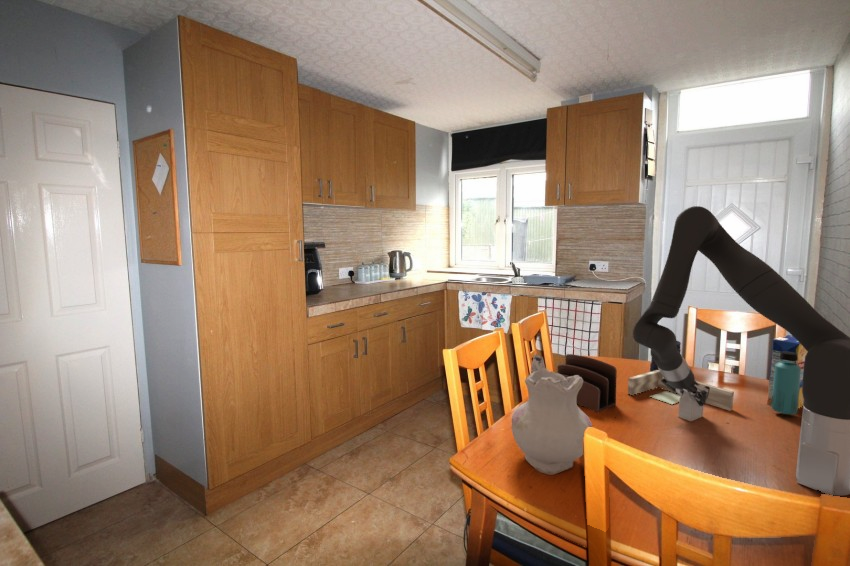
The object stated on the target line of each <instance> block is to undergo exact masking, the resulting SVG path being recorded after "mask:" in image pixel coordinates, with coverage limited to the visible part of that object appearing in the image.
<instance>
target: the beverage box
mask: <svg viewBox="0 0 850 566" xmlns="http://www.w3.org/2000/svg"><path fill="white" fill-rule="evenodd" d="M782 351H788V352H793V353H796V354H797V361H788V360H783V359H781V358H780V354H781V352H782ZM806 354H807V350H806V349H805V348H804V347H803V346H802V345H801V344H800V343H799V342H798V341H797V340H796V338H794V337H793V336H792V335H791V334H787V335H784V336H779V337H776V338H773V339H772V349H771V358H770V370H769V380H768V390H767V391H768V392H767V403H766V405H769V406H772V405H771V404H772V402H771V401H772V400H771V399H772V394H773V391H772V390H773V382H774V372H775V364H776V363H778V362H781V361H786V362H792V363H795V364H797V365H798V366H799V367H800V368H801V374H800V388H799V391H800V392H799V393H800V394H799V395H800V396H799V400H798V404H799V406H798V408H799V409H801V408H803V407H802V406H803V402H804V398H803V394H802V385H803V371H804V361H805V357H806ZM800 407H801V408H800Z"/></svg>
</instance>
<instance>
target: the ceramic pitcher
mask: <svg viewBox="0 0 850 566" xmlns="http://www.w3.org/2000/svg"><path fill="white" fill-rule="evenodd" d="M532 358H533V359H532V362H531V366H530V367H531V368H530V373H529V375H528V376H527V377H526V378H525V379H524V384H525V385H526V388H527V391H528V398H527V401H526V402H523V403H522V404H520V405H519V406H518V407H516V408H515V409H514V411H513V413H512V415H511V416H512V417H511V431H512V432H511V433H512V436H513V439H514V440H515V441H514V442H515V443H516V444H517V446H518V448H519V449H520V450H521V452H523V453H524V454H525V455H524V456H523V457H524V458H525V460H526V461H527V463H528V464H530V466H532V467H533V468H534V469H535V470H536V471H537V472H539V473H542V474H545V475H547V476H549V475H550V476H551V475H557V474H558V473H561V472H564V471H567V470H569V469H571V468H573V467H574V463H575V462H574V461H576V460H578V459H579V458H580V457H582V456H583V455H584V454H585V453H583V437H584V431H585V429H586V428H587V427H593V424H592V422H591V420H590V419H591V418H590V417H589V416H588V415H587V414H586V413H585V412H584V411H583V410H582V409H581V408H580V407H579V405H577V404H576V399H577V394H578V392H579V390H580V388H581V387H582V384H583V379H582V378H581V377H579V375H574V376H570V377H567V378H565V377H564V376H563V375H561V374H559V373H557V371H556V372H555V371H550V370H549V369H547V368H546V366H545V360H544V357H543V356H541V355H538V354H536V353H534V355H532Z"/></svg>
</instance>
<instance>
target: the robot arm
mask: <svg viewBox="0 0 850 566" xmlns="http://www.w3.org/2000/svg"><path fill="white" fill-rule="evenodd" d="M669 247H670V248H669V250H668V255H667V259H666V261H665V264H664V268H663V270H662V273H661V276H660V279H659V282H658V283H657V285H656V288H655V291H654V294H653V296H652V299H651V301H650V303H649V306H648V307H647V308H646V310H645V311H644V312H643V314H642V315H641V316H640V318H639V319H638V320H637V322H636V323H635V324H634V326H633V331H632V338H633V339H634V341H635V342H636V343H637V344H639V345H642V346H643V347H646V348H648V349H650V356H651V359H653V360H654V362H655V363H656V365H657V366H658V369H659V371H660V372H661V374H662V375H663V378H662V380H661V382H662V383H664V384H665V385H666V386H667V387H668V388H669V389H670V390H671V391H672V392H671V393H673V392H677V393H678V394H677V395H681V396H682V394H683V393H684V391H685V392H687V393H688V394H689V395H690V396H691V397H694V398H695V399H696V401H697V402H698V404H699V406H703V407H704V406H705V405H706V403H705V402H706V399H707V397H708V395H709V390H710V388H709V387H708V386H705V387H701V386H699V384H698V383H697V382H696V381H697V380H696V378H695V374H694V372H693V371H692V369H691V367H690V365H689V364H688V362H687V361H686V359H685V358H684V356H682V354H681V351H680V352H679V351H678V349H677V341H678V340H677V336H676V334H675V333H674V332H673V331H672V329H670V328H668V327H666V326H664V325H662V324H659V322H660V321H661V320H662V319H663V318H666V319H675V318H676V317H677V316H678V314H679V312H680V309H681V307H682V304H683V303H684V302H683V301H684V299H685V296H686V294H687V291H688V286H689V282H690V276H691V273H692V268H693V264H694V260H695V259H696V256H697V254H698V252H700V253H701V254H702V255H704V257H705V258H707V259H708V260H709V261H710V262H712V264H713V266H715V268H716V269H717V270H718V271H719V273H720V274H721V276H722V277H723V279H724V280H725V281H726V283H727V284H728V285H729V286H730V288H732V289H733V290H734V291H735V293H736V294H737V295H738V296H739V297H740V298H741V299H742V300H743V301H744V302H745V303H746V304H747V305H749V306H750V307H751V308H752V309H753V310H754V311H756V312H757V313H759V314H760V315H761V316H763V317H764V318H766V319H768V320H769V321H771V323H774V324H776V325H777V326H779V327H781V328H782V329H784V330H785V331H786V332H788V333H789V335H792V336H793V337H794V338H796V340H797V341H798V342H799V343H800V344H801V345H802V346H803V347H804V348H805V349H806V350H807V354H806V357H805V361H804V371H803V385H802V394H803V398H804V402H803V407H802V414H801V415H802V416H801V424H800V434H799V443H798V451H797V452H798V453H797V462H796V470H795V471H796V472H795V478H796V480H797V484H800V485H803V486H805V487H807V488H810V489H813V490H814V491H817V490H819V491H821V492H820V493H822V494H824V493H825V495H827V494H830V495H834V496H839V497H840V496H848V495H850V336H848V335H847V334H845V332H843V331H842V330H840V329H839V328H838V327H836V326H835V325H834V324H833V323H831V322H830V321H829V320H827V319H826V318H825V317H824V316H822V315H821V314H820V313H819V312H818V311H817V310H816V309H815V308H814V307H813V306H812V305H811V304H810V303H809V302H808V301H807V300H806V299H805V297H803V296H802V295H801V294H800V293H799V292H798V291H797V290H796V289H795V288H794V287H793V286H792V285H791V284H790V283H789V282H788V281H787V280H786V279H785V278H784V277H782V276H781V275H780V274H779V273H778V272H777V271H776V270H774V268H772V266H770V265H769V264H768V263H766V262H765V261H763V259H761V258H760V257H758V256H756V255H755V254H753V253H752V252H750V251H749V250H748V249H746V248H744V247H743V246H741V245H740V244H739V243H738V242H737V241H736V240H735V239H734V237H732V236H731V235H730V233H728V231H727V230H726V229H725V228H724V227H723V225H722V224H721V223H720V221H719V220H718V219H717V217H716V216H715V215H714V214H713V213H712V211H710V210H709V209H708V208H706V207H703V206H699V205H698V206H697V205H696V206H689V207H687V208H685V209H683V210H682V211H680V213H679V214H678V216H676V219H675V222H674V227H673V233H672V238H671V243H670V246H669ZM697 393H698V394H697ZM819 491H818V492H819Z"/></svg>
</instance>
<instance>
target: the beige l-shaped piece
mask: <svg viewBox="0 0 850 566" xmlns="http://www.w3.org/2000/svg"><path fill="white" fill-rule="evenodd" d="M662 378H663V375H662V374H661V372H660V371H659V370H655V371H652V372H650V371H649V372H645V373H640V374H638V375H634V376H630V377H628V383H627V395H628V394H630V395H629V396H631V395H633V396H635V395H634V394H636V395H638V394H637V393H640V394H642V393H641V392H643V393H645V392H644V391H646V392H648V391H647V390H649V391H651V390H650V389H652V390H654V389H653V388H656V387H660V388H663V389H665V390H664V391H662V392H658V393H656V394H655V393H654V394H653V395H649V396H648V398H650V397H652V398H651V399H653V398H654V400H656V399H657V400H656V401H659V400H660V402H662V401H663V402H662V403H664V402H666V403H665V404H667V403H669V404H668V405H670V404H671V405H670V406H673V404H674V405H676V403H677V404H679V403H678V402H679V400H680V397H681V395H679V394H678V393H677V392H674V393H673V392H672V391H671V390H670V389H669V388H668V387H667V386H666V385H665V384H664V383H662V382H661V380H662ZM695 381H696V382H697V383H698V384H699V386H701V387H705V386H708V387H709V388H710V390H709V395H708V397H707V399H706V402H705V404H708V405H710V406H713V407H717V408H719V409H723V410H726V411H729V412H730V411H733V407H734V394H735V392H734V391H732V390H731V389H730V390H728V389H726V388H722V387H719V386H715V385H711V384H708V383H704V382H701V381H697V380H695ZM660 388H659V389H660ZM656 389H657V388H656ZM663 389H662V390H663ZM666 390H668V391H666ZM669 391H671V392H669ZM676 393H677V394H676Z"/></svg>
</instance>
